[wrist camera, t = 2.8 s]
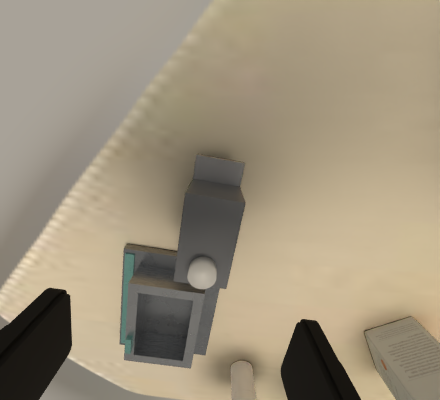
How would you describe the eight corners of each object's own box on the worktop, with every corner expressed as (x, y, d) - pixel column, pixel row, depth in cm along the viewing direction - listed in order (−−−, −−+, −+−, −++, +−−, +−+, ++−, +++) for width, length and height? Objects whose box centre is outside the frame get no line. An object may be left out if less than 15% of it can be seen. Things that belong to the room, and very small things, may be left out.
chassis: (127, 243, 24) (107, 268, 20) (224, 258, 25) (225, 285, 21) (122, 337, 28) (105, 373, 24) (205, 347, 29) (203, 385, 25)
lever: (200, 150, 21) (186, 164, 13) (240, 157, 21) (254, 176, 13) (186, 248, 24) (167, 312, 16) (221, 253, 25) (221, 320, 16)
